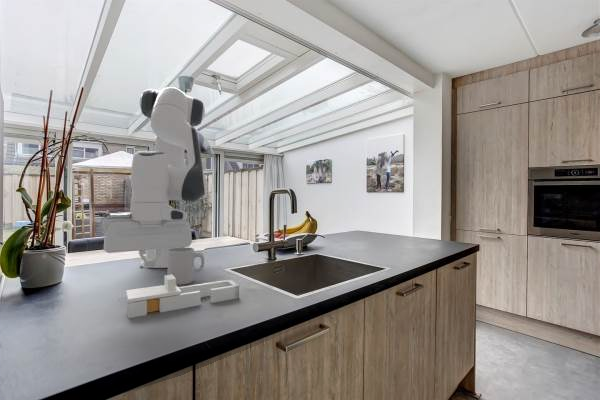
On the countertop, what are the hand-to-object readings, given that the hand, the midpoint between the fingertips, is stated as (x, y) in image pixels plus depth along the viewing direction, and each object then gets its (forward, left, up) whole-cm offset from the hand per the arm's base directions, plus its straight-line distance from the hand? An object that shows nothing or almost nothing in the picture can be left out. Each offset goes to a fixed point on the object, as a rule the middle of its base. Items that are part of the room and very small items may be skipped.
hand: (150, 266), depth 79 cm
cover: (0, +1, -7) cm, 7 cm away
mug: (-22, +14, -11) cm, 28 cm away
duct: (0, +9, -11) cm, 14 cm away
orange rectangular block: (0, +1, -11) cm, 11 cm away
